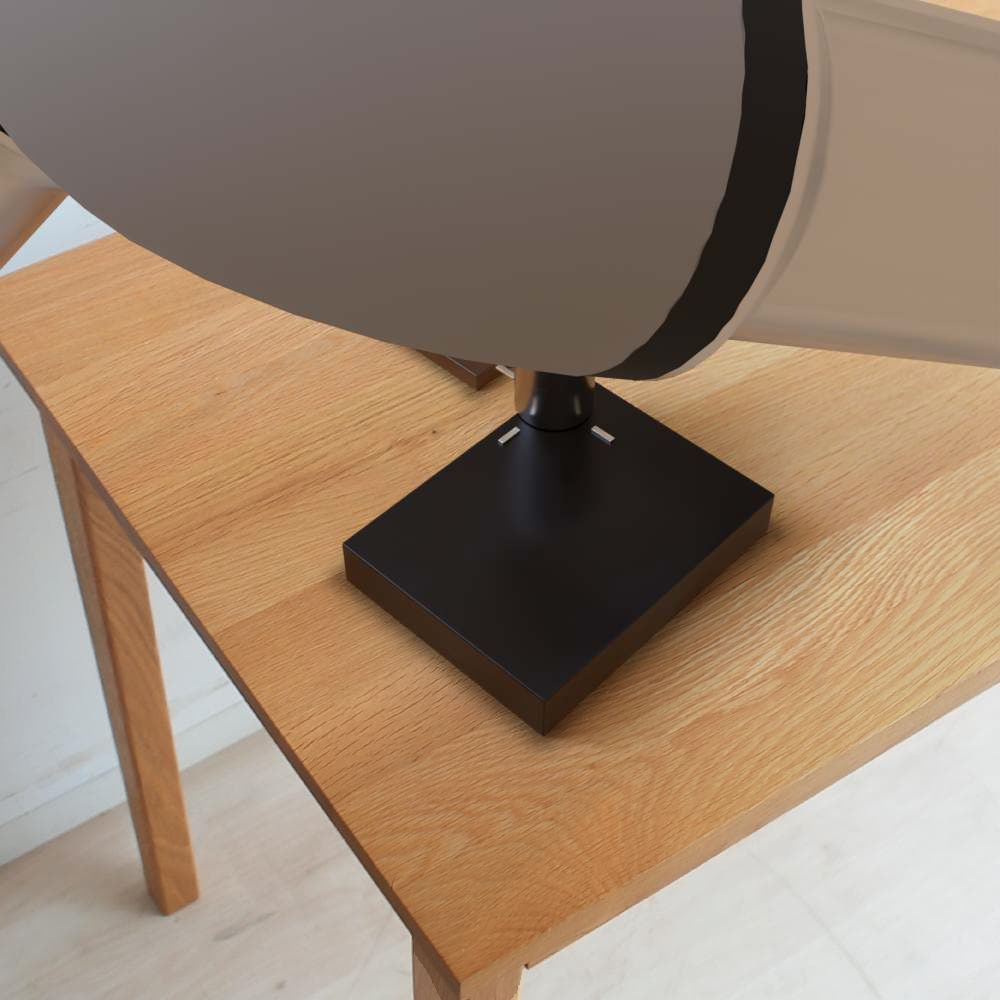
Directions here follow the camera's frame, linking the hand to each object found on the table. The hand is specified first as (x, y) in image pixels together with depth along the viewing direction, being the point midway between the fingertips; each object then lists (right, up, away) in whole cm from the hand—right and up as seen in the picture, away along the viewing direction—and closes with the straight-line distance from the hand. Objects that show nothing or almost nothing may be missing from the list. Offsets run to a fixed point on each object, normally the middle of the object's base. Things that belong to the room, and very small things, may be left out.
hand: (602, 22), depth 73 cm
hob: (-3, -26, +5) cm, 26 cm away
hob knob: (-2, -19, +7) cm, 20 cm away
